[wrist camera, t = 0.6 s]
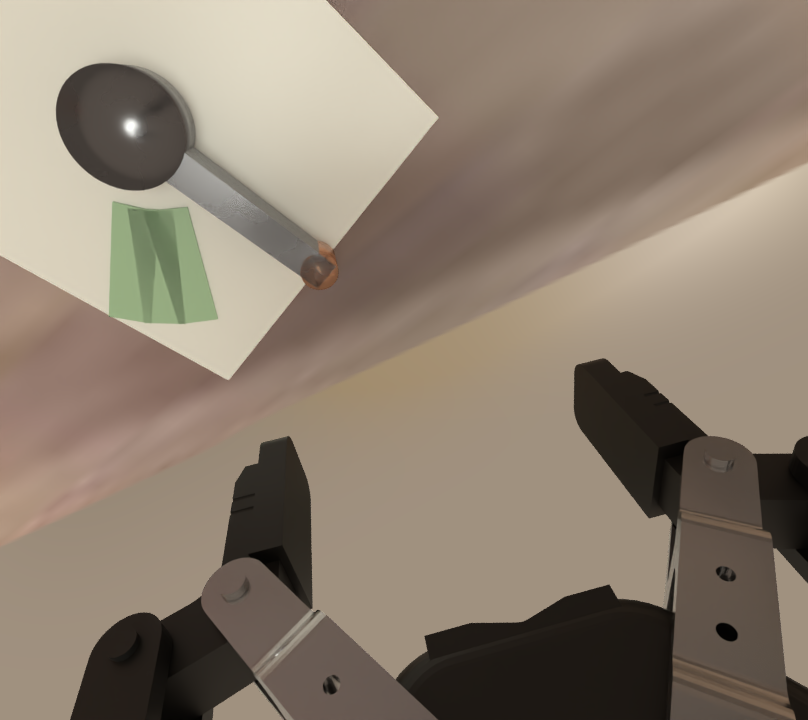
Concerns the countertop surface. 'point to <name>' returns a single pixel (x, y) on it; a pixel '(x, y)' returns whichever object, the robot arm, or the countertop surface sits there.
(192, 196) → the metal serving spoon
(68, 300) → the countertop surface
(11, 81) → the dial plate
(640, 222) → the countertop surface
